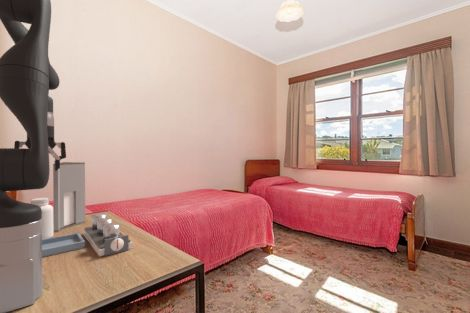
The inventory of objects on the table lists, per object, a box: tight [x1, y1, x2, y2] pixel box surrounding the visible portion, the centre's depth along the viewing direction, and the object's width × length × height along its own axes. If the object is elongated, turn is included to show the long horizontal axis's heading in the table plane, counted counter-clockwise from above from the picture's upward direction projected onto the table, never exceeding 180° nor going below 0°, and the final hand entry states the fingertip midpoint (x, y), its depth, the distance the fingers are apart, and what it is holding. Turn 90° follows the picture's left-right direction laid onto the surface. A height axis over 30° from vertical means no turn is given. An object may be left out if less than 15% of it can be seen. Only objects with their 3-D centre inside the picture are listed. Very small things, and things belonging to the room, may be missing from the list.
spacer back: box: [91, 213, 107, 229], centre depth 96 cm, size 5×5×5 cm
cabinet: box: [52, 161, 86, 233], centre depth 109 cm, size 21×10×28 cm, turn 25°
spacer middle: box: [97, 217, 113, 235], centre depth 89 cm, size 5×5×5 cm
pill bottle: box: [29, 197, 55, 239], centre depth 91 cm, size 8×8×15 cm
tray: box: [42, 232, 86, 258], centre depth 82 cm, size 12×12×2 cm
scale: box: [82, 226, 133, 257], centre depth 88 cm, size 29×10×5 cm, turn 41°
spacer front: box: [103, 222, 120, 242], centre depth 83 cm, size 5×5×5 cm
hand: (41, 171), depth 84 cm, fingers open, 8 cm apart
